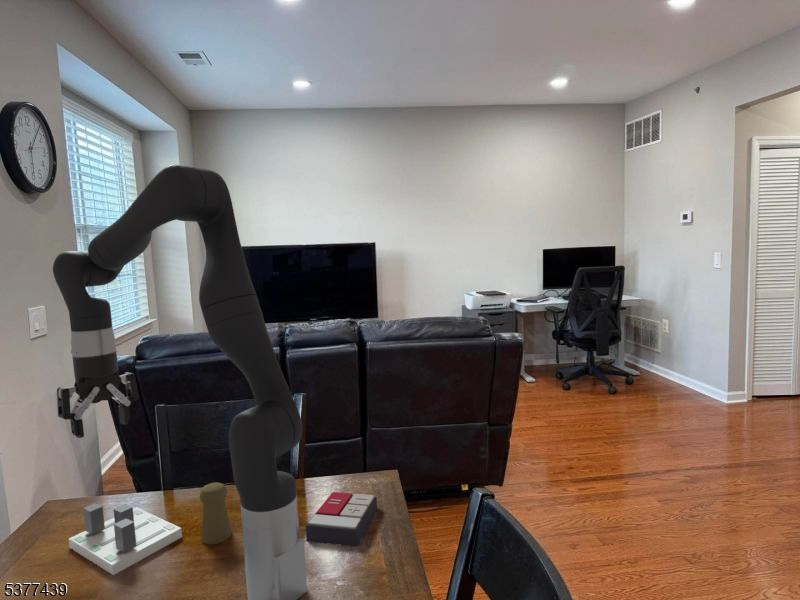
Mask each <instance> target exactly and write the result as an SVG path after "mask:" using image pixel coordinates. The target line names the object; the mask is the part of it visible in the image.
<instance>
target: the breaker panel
mask: <svg viewBox="0 0 800 600" xmlns="http://www.w3.org/2000/svg"><path fill="white" fill-rule="evenodd" d="M133 516H134V526H135V537H136V547H135V548H133V549H131V550H129V551H127V552H125V553H123V552H121V551H120V550H118V549H116V541H115V531H114V524H115V519H114V517H112V518H110V519H107V520H105V521H104V526H105V529H104V530H102V531H100V532H98V533H96V534H94V535H92V534H90V533H88V532H86V530H85V531H81V532H80V533H77V534H76V535H74V536H71V537H69V538H68V543H69V545H68V546H69V548H70V549H71V550H72V549H73V550H72V551H74V552H76V553H77V554H79V555H80V556H82V557H84V558H85V559H87V560H88V561H90V562H91V561H92V563H93V564H95V565H96V564H97V565H96V566H97V567H99V566H100V567H99V568H101V569H102V568H103V569H102V570H104V571H106V572H108V573H109V574H111V575H112V576H115V575H117V574H119V573H120V572H122V571H124V570H125V569H127V568H129V567H131V566H133V565H135V564H136V563H138V562H140V561H142V560H143V559H145V558H147V557H149V556H151V555H152V554H154V553H157V552H158V551H160V550H162V549H163V548H165V547H166V546H169V545H170V544H172V543H174V542H176V541H178V540H179V539H182V538H183V534H182V533H183V531H182V527H180V526H177V525H175V524H173V523H172V522H169V521H168V520H164V519H162V518H160V517H159V516H156V515H154V514H152V513H150V512H148V511H146V510H143V509H141V508H139V507H137V506H136V507H134V508H133Z"/></svg>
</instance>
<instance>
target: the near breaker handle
mask: <svg viewBox="0 0 800 600" xmlns="http://www.w3.org/2000/svg"><path fill="white" fill-rule="evenodd" d="M114 531H115V541H116V549H118V550H120V551H121V552H123V553H125V552H127V551H129V550H131V549H133V548H135V547H136V537H135V527H134V522H133V521H131V520H129V519H127V518H126V519H124V520H122V521H119V522H117V523H115V524H114Z"/></svg>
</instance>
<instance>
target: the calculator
mask: <svg viewBox="0 0 800 600" xmlns="http://www.w3.org/2000/svg"><path fill="white" fill-rule="evenodd" d="M376 509H377V510H378V499H377V496H375V495H374V494H365V493H364V494H363V493H354V494H353V493H350V492H349V493H348V492H341V491H340V492H339V491H332V492H331V493H330V494H329V496H328V497H327V499H325V501H324V502H323V503H322V504H321V506H320V507H318V509H317V510H316V512H315V513H314V514H313V515H312V517H311V518H310V519H309V521H307V523H306V524H305V536H306V537H305V538H306V542H308V541H310V543H311V542H312V543H317V542H318V543H320V544H327V543H329V544H328V545H336V544H341V545H340V546H346V545H347V547H358V546H359V544H360V542H361V541H362V539H363V537H362V536H364V535H363V534H365V533H366V530H367V528H368V527H369V525H370V523H371V521H372V519H373V517H374V515H375V513H376V512H375V511H377V510H376ZM371 518H372V519H371ZM370 520H371V521H370ZM369 522H370V523H369ZM368 524H369V525H368ZM361 538H362V539H361ZM360 540H361V541H360ZM348 545H349V546H348ZM357 545H358V546H357Z"/></svg>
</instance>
